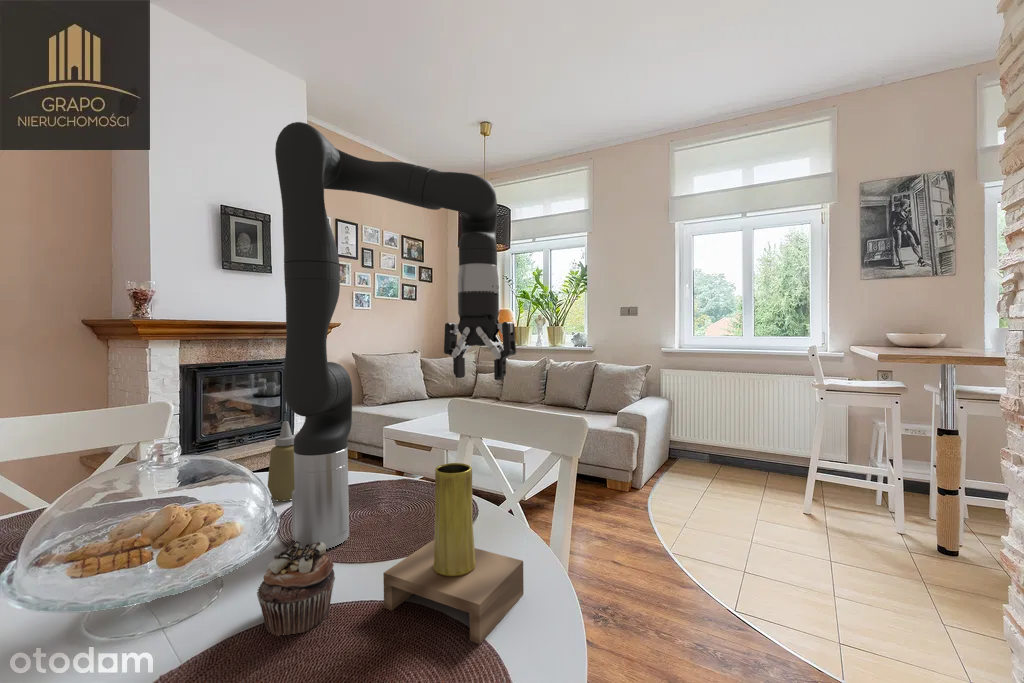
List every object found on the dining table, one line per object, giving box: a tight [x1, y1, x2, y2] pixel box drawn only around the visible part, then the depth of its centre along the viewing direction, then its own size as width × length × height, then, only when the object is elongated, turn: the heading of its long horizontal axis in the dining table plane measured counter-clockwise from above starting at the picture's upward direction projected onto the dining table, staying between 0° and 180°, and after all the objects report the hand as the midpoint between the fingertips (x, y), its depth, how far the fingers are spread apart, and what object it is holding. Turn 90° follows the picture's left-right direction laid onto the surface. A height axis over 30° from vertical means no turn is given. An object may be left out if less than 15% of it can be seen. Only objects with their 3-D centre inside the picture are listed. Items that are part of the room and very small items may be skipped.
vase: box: [433, 462, 476, 577], centre depth 65 cm, size 6×6×14 cm
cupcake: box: [256, 541, 336, 637], centre depth 62 cm, size 10×10×10 cm
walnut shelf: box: [382, 539, 525, 645], centre depth 65 cm, size 16×12×5 cm
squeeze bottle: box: [267, 420, 296, 502], centre depth 106 cm, size 8×8×18 cm
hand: (479, 378), depth 83 cm, fingers open, 8 cm apart
